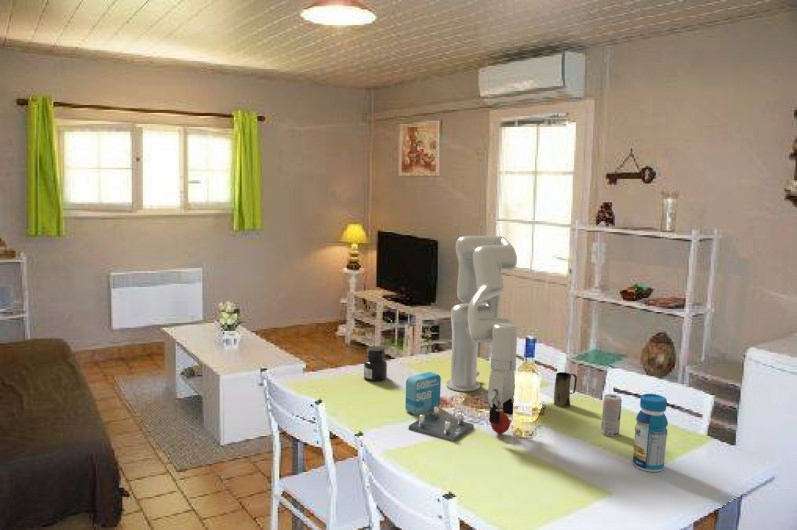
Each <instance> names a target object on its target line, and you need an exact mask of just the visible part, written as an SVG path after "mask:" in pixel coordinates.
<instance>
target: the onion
mask: <svg viewBox="0 0 797 530" xmlns="http://www.w3.org/2000/svg"><path fill="white" fill-rule="evenodd" d="M499 411H500V423H499V424H495V423H490V427H491V429H492V431H493V432H495V433H496V434H497V435H503V434H504V433H506V432H507V431H508V430H509V429H510V426H511V420H510V418H509V416H508V414H505V413H503V412H504V411H503V409H499Z"/></svg>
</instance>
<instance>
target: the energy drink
mask: <svg viewBox="0 0 797 530" xmlns="http://www.w3.org/2000/svg"><path fill="white" fill-rule="evenodd" d="M622 401H623V400H622V396H619V395H616V394H612V393H610V394H605V395H604V397H603V401H602V416H601V428H600V431H601V434H602V435H603V436H606V437H610V438H616V437H618V436H619V435H620V428H621V426H620V425H621V415H622V413H621V412H622Z"/></svg>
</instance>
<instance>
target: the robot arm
mask: <svg viewBox="0 0 797 530" xmlns="http://www.w3.org/2000/svg"><path fill="white" fill-rule="evenodd" d="M455 253H456V258H457V261H458V275H457V284H456V285H457V286H456V294H457V295H456V296H457V299H458V300H460V301H461V302H463V303H459V304H456V305H454V306H452V308H451V311H450V322H451V335H452V336H451V340H452V341H451V360H450V361H451V363H450V364H451V365H450V367H451V369H450V379H449V380H447V381H446V387H447V388H449V389H450V390H453V391H457V392H475V391H477V390H479V389H480V388H481V383H480V382H479V381H477V377H479V376H480V371H478V351H479V350H478V349H479V348H478V346H479V343H491V350H490V352H491V353H490V354H491V355H490V369H491V370H490V374H489V381H488V390H487V401H488V409H489V420H488V421H489V423H490V424H491V423H495V424H499V423H500V410H501V408H500V407H502V410H503V411H504V412H503V413H504V414H506V415H510V416H512V415H513V412H514V401H515V400H514V396H515V388H516V385H515V371H516V367H517V349H518V348H517V346H518V345H517V343H518V327H517V326H516V325H515V324H514V322H513V320H512V319H510V318H508V317H499V314H500V313H499V312H500V304H501V295H502V292H503V291H504V286H505V285H504V281H503V275H502V271H513V270H514V269H515V268H516V267H517V264H518V258H517V252H516V250H515V248H514V246H513V245H512V243H510V242H509V241H508V240H507V238H505V237H504V236H501V235H500V236H499V235H464V236H460V237H458V239H457V240H456V243H455ZM501 405H502V406H501Z"/></svg>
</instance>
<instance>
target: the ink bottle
mask: <svg viewBox="0 0 797 530" xmlns="http://www.w3.org/2000/svg"><path fill="white" fill-rule="evenodd" d="M385 349H386V348H385V347H383V346H378V345H376V346H375V345H374V346H373V345H372V346H368V347H366V359H365V361H364V362H363V379H364V380H365V381H369V382H383V381H385V380H386V379H387V375H388V374H387V373H388V371H387V370H388V369H387V368H388V363H387V361H386V360H385V353H386V351H385Z"/></svg>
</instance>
